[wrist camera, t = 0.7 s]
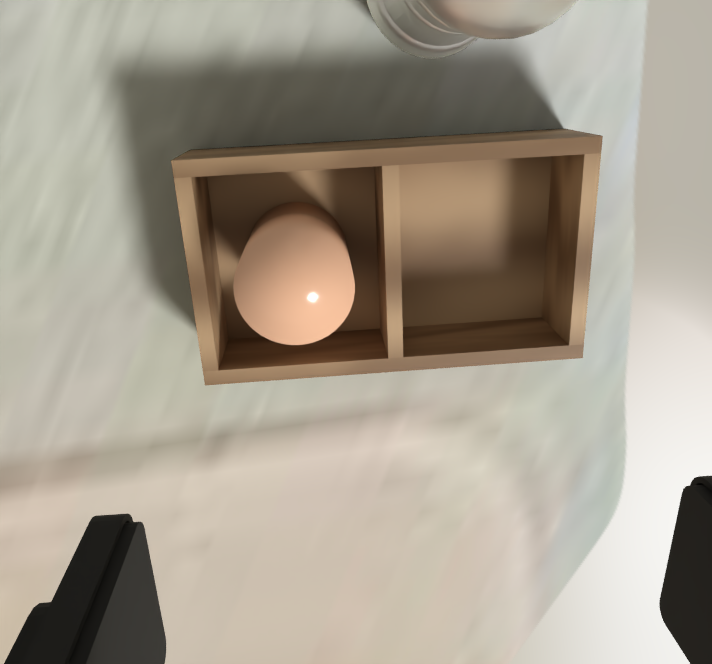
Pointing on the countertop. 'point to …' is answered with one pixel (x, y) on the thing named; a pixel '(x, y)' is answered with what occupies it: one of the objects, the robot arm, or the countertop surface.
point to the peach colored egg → (295, 275)
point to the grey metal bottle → (460, 22)
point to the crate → (404, 249)
